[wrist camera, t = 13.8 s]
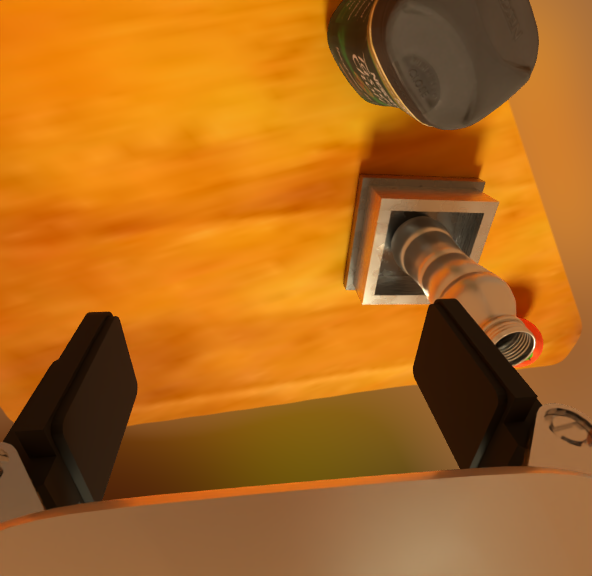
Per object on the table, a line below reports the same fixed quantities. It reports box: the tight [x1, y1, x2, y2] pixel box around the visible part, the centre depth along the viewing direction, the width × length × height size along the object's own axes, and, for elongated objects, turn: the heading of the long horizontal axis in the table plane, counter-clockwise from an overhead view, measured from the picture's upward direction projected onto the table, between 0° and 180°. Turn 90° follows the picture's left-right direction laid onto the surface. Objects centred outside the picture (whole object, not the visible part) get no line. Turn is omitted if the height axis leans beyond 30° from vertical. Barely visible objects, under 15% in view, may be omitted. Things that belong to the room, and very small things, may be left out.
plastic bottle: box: [391, 216, 536, 367], centre depth 36 cm, size 6×7×20 cm
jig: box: [343, 174, 499, 304], centre depth 44 cm, size 14×14×6 cm
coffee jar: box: [327, 0, 539, 130], centre depth 28 cm, size 10×8×19 cm
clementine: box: [514, 318, 543, 367], centre depth 52 cm, size 8×7×7 cm
